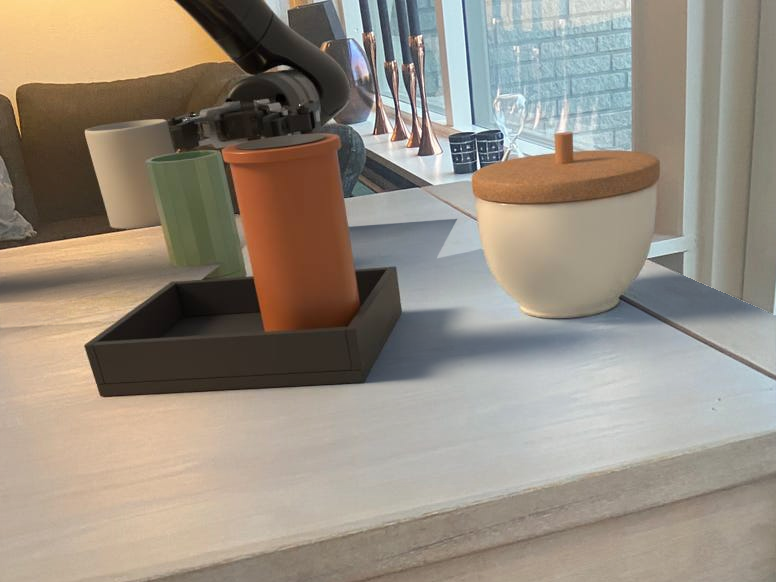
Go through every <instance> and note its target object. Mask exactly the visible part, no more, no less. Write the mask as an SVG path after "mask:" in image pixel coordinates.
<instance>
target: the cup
mask: <svg viewBox="0 0 776 582" xmlns="http://www.w3.org/2000/svg"><path fill="white" fill-rule="evenodd" d="M145 163H146V167H147V171H148V174H149V178H150V182H151V186H152V190H153V194H154V198H155V202H156V206H157V210H158V214H159V218H160V222H161V225H160V226H161V230H162V233H163V237H164V241H165V245H166V248H167V249H166V250H167V253H168V257H169V262H170V264H171V265H172V266H173V267H177V268H179V267H180V268H195V267H205V266H211V265H218V264H220V265H218V266H217V267H216V268H214V269H213V270H211V271H210V272H209V273H208V274H206V275H205V276H204V277H203V278H202V279H201V280H205V279H220V278H235V277H247V275H248V274H247V270H246V263H245V259H244V254H243V249H242V245H241V240H240V235H239V231H238V226H237V225H238V224H237V221H236V216H235V212H234V206H233V203H232V198H231V197H232V196H231V193H230V192H231V191H230V187H229V183H228V179H227V174H226V169H225V165H224V159H223V155H222V151H221V150H216V149H202V150H201V149H200V150H189V151H180V152H175V153H173V154H167V155H162V156H157V157H153V158H150V159H147V160H145Z"/></svg>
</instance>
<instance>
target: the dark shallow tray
mask: <svg viewBox="0 0 776 582" xmlns="http://www.w3.org/2000/svg"><path fill="white" fill-rule="evenodd" d="M355 274H356V280H357V287H358V293H359V300H360V307H361V308H360V309H359V311H358V312H357V314H356V315H355V317H354V318H353V320H352V321H351V323H350V324H349V326H348V327H333V328H317V329H300V330H284V331H267V332H265V330H264V325H263V320H262V315H261V311H260V306H259V301H258V296H257V291H256V287H255V282H254V277H253V275H252V276H251V275H250V276H246V277H235V278H220V279H205V280H202V279H193V280H192V279H191V280H179V281H170V282H169V283H168V284H166V285H164V286H163V287H162V288H161V289H159V290H158V291H156V292H155V293H154V294H152V295H151V296H149V297H148V298H146V300H144V301H143V302H141V303H140V304H138V305H137V306H136V307H134V308H133V309H132V310H130V311H129V312H127V313H126V314H125V315H123V316H122V317H121V318H119V319H118V320H116V321H115V322H113V324H111V325H109V326H108V327H107V328H106V329H104V330H103V331H102V332H100V333H99V334H97V335H95V337H93V338H91V340H89V341H88V342H87V343H85V344H84V345H83V346H84V350H85V353H86V356H87V360H88V362H89V365H90V369H91V372H92V375H93V378H94V381H95V384H96V387H97V390H98V394H99V397H112V396H114V397H115V396H129V395H130V396H131V395H132V396H135V395H149V394H150V395H151V394H152V395H153V394H168V393H184V392H185V393H188V392H189V393H190V392H208V391H225V390H226V391H227V390H228V391H229V390H245V389H247V390H248V389H262V388H264V389H265V388H266V389H267V388H282V387H285V388H286V387H300V386H301V387H302V386H319V385H322V386H323V385H337V384H339V385H340V384H357V383H364V382H365V380H366V378H367V377H368V375H369V373H370V372H371V369H372V368H373V366H374V364H375V362H376V360H377V358H378V357H379V356H380V353H381V351H382V349H383V347H384V346H385V344H386V342H387V340H388V338H389V337H390V335H391V333H392V331H393V330H394V328H395V326H396V324H397V322H398V320H399V318H400V316H401V315H402V313H403V308H402V302H401V301H402V300H401V294H400V285H399V277H398V270H397V266H388V267H387V266H386V267H385V266H383V267H371V268H370V267H368V268H355Z"/></svg>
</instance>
